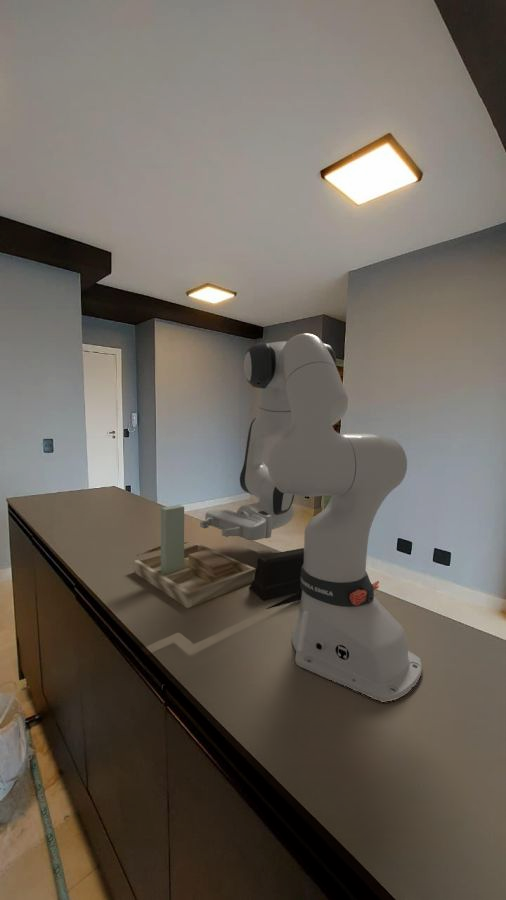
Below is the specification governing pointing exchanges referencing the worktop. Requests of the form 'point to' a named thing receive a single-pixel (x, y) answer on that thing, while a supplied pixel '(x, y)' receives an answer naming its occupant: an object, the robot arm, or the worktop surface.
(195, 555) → the offcut stack
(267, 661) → the worktop surface
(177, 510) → the sage green plank
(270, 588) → the barrier
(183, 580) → the beige wooden tray
